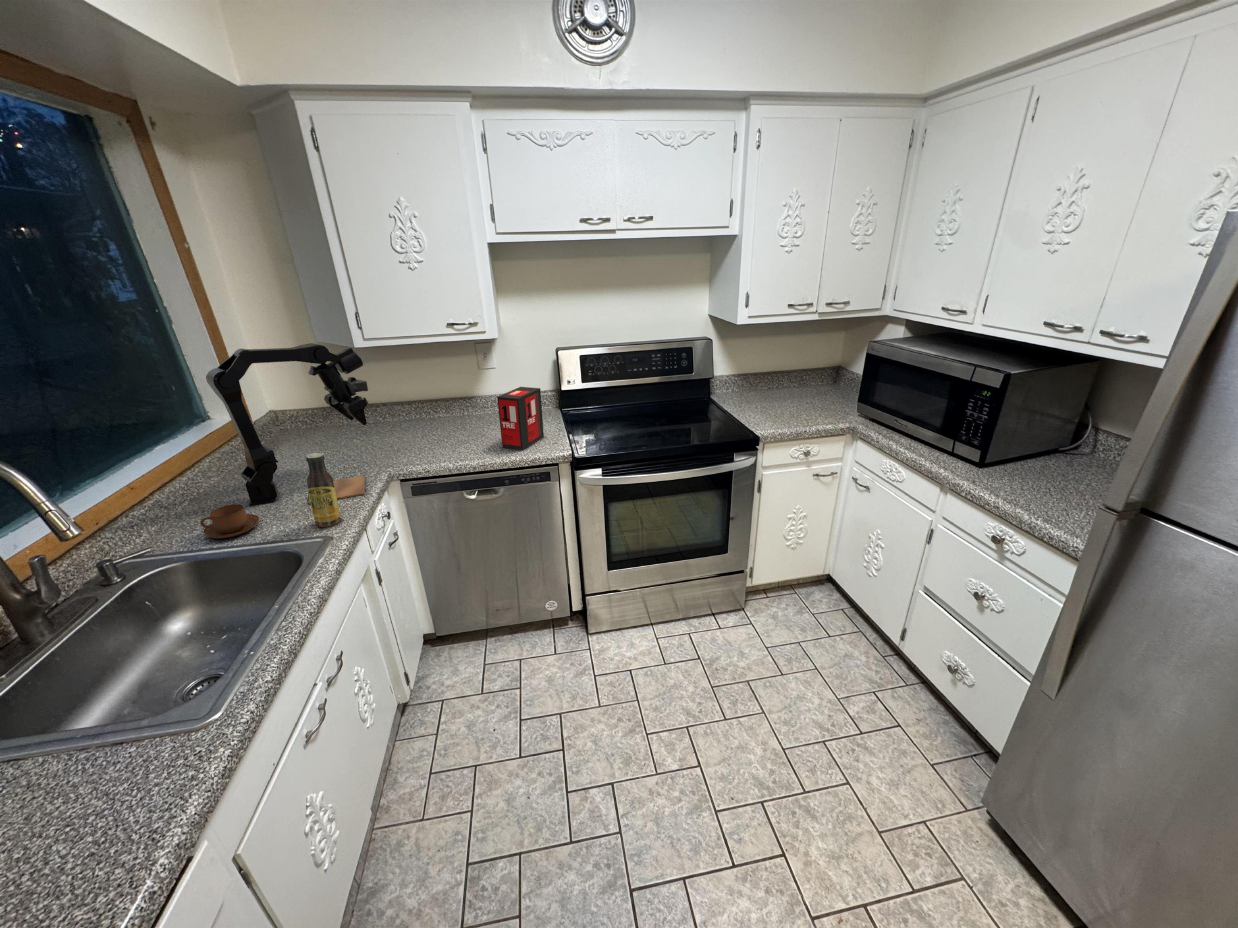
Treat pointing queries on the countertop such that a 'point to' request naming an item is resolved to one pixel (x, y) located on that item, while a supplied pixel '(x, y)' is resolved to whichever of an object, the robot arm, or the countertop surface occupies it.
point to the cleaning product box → (520, 417)
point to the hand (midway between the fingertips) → (358, 422)
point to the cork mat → (349, 487)
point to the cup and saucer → (229, 521)
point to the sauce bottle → (322, 492)
